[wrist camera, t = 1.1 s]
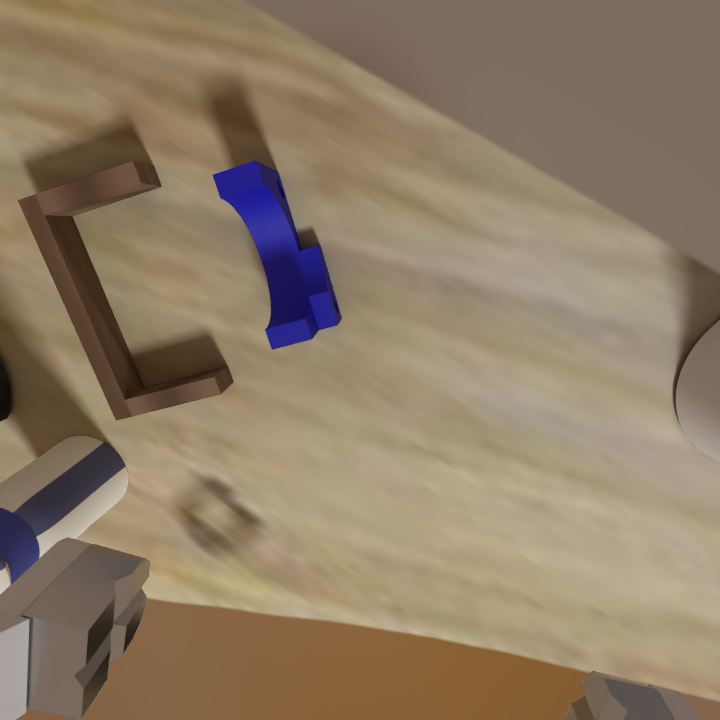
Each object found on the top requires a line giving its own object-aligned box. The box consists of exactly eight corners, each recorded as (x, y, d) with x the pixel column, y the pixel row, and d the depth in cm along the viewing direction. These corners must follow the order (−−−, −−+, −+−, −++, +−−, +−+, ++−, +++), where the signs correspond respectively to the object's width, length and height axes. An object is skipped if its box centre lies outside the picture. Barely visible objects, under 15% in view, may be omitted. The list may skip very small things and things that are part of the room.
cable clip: (341, 317, 37) (332, 333, 32) (290, 331, 38) (271, 349, 32) (297, 166, 34) (277, 153, 29) (242, 184, 35) (212, 174, 29)
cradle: (154, 166, 35) (132, 161, 32) (233, 382, 39) (220, 394, 37) (47, 202, 36) (17, 200, 34) (135, 407, 41) (116, 420, 38)
